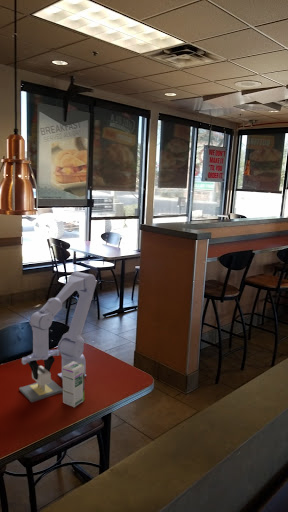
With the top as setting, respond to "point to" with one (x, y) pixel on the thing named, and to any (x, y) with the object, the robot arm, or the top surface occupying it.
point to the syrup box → (73, 383)
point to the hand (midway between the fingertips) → (41, 376)
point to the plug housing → (43, 376)
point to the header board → (40, 390)
